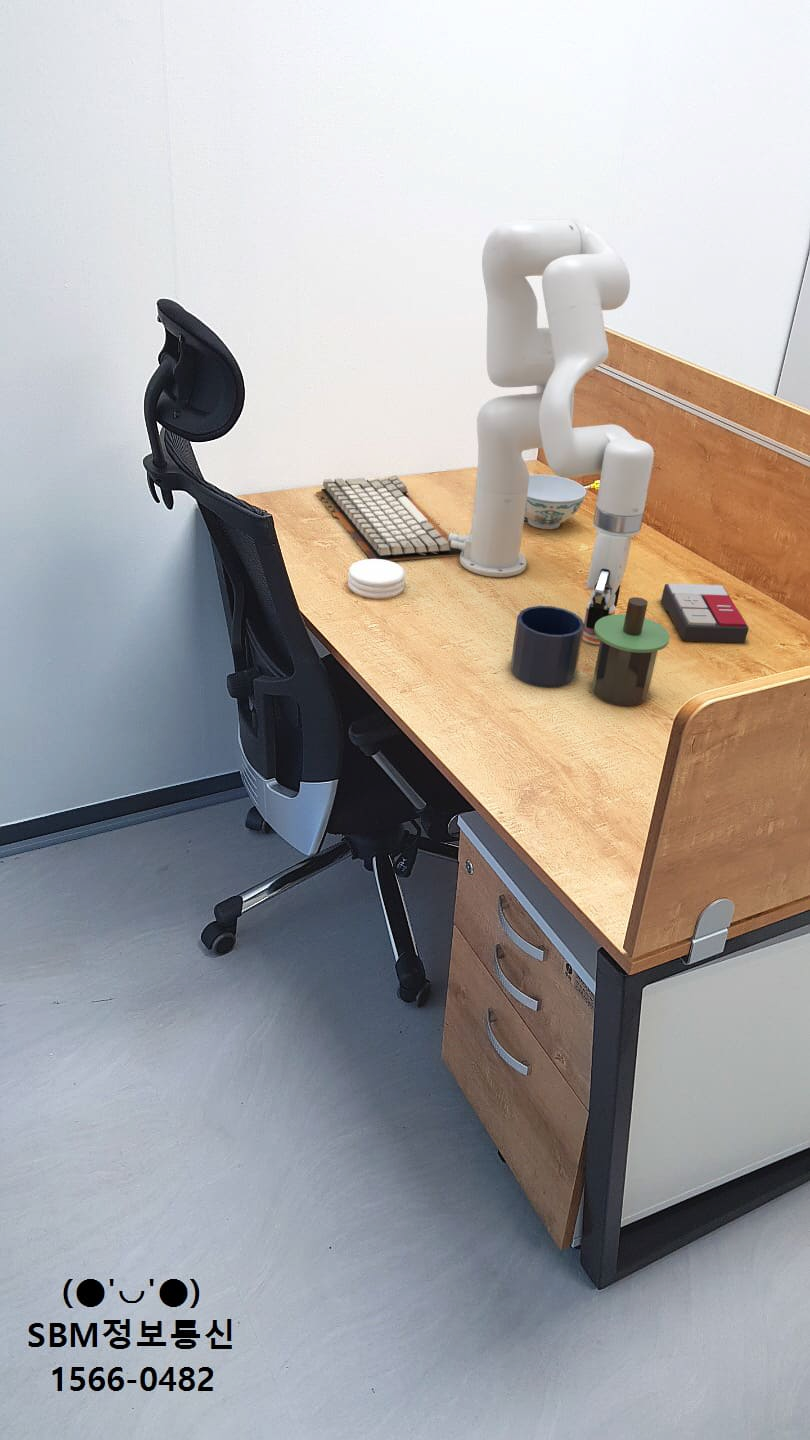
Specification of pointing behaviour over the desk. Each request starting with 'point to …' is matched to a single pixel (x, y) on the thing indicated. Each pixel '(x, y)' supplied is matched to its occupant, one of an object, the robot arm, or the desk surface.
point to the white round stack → (376, 578)
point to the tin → (546, 646)
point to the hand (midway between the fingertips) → (601, 616)
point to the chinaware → (552, 500)
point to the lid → (632, 630)
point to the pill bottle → (589, 633)
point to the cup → (622, 676)
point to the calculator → (704, 613)
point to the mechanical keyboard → (385, 519)
